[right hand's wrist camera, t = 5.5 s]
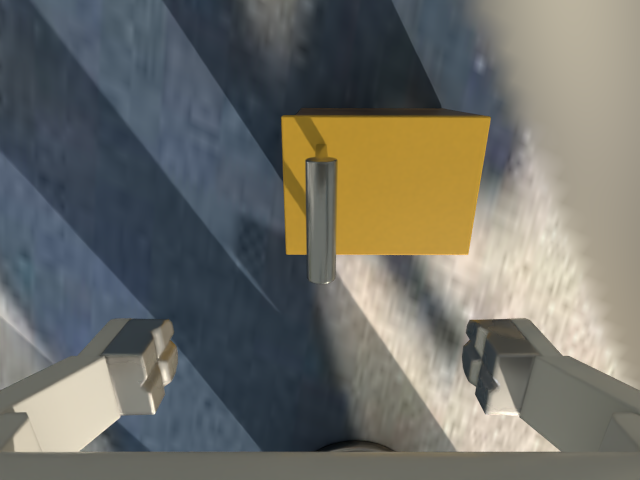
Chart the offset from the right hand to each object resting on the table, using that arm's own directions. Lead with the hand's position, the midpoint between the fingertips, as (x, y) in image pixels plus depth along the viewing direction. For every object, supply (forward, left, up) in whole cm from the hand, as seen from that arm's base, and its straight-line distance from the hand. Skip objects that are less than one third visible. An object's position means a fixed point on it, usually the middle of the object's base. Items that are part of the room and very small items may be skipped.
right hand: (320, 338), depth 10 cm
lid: (+2, +4, -17) cm, 18 cm away
